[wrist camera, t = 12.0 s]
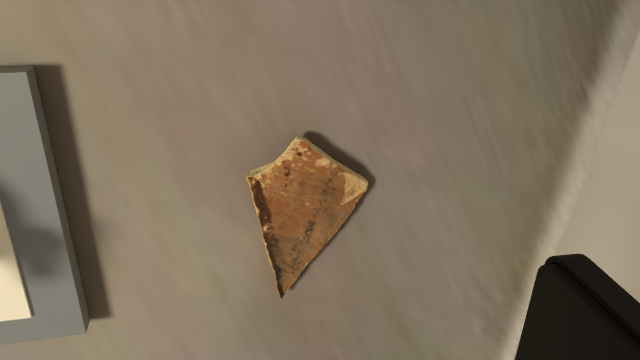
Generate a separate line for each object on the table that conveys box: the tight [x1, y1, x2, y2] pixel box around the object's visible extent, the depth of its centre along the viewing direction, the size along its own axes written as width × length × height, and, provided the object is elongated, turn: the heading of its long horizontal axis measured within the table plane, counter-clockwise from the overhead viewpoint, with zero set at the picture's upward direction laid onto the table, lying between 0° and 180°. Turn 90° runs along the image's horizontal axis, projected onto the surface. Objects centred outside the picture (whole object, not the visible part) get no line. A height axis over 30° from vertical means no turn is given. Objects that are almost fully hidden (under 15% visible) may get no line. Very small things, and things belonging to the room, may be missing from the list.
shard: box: [246, 136, 368, 298], centre depth 38 cm, size 11×8×2 cm
